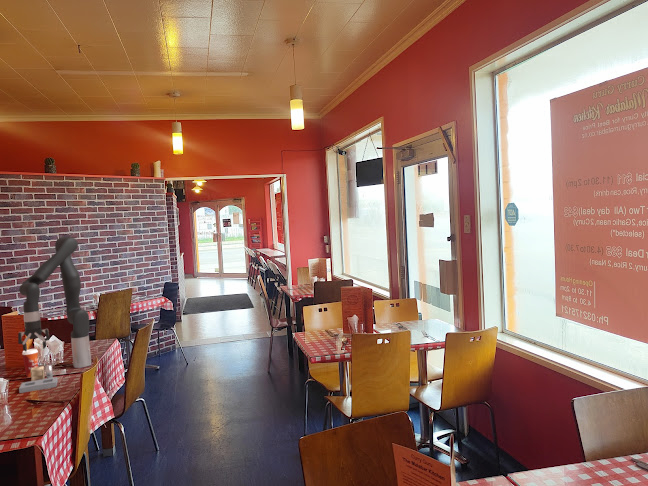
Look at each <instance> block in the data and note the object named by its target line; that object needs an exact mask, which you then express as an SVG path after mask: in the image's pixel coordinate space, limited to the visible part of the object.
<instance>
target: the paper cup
mask: <svg viewBox="0 0 648 486" xmlns="http://www.w3.org/2000/svg"><path fill="white" fill-rule="evenodd" d="M38 352H39V351H38V348H30V349H27V351H25V350H23V351H22V353H21V355H22V357H23V364H24V371H25V376H26V377H27V378H31V369H32V368H35V367H39V361H38V358H39V356H38Z"/></svg>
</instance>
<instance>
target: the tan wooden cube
mask: <svg viewBox="0 0 648 486" xmlns="http://www.w3.org/2000/svg"><path fill="white" fill-rule="evenodd" d="M45 375H46V373H45V366H44V365H41V366H38V367H35V368H32V369H31V377H30V379H31V380H30V381H36V380H42V379H46V378H45V377H46V376H45Z"/></svg>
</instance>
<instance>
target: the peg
mask: <svg viewBox="0 0 648 486" xmlns="http://www.w3.org/2000/svg"><path fill="white" fill-rule="evenodd" d="M44 368H45V375H46V376H45V377H46V378H45V379H48V378H53V377H54V373H53V365H52V364H47V365H45V366H44Z"/></svg>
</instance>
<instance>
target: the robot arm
mask: <svg viewBox="0 0 648 486" xmlns="http://www.w3.org/2000/svg"><path fill="white" fill-rule="evenodd" d="M78 243H79V242H78V240H77V239H76V238H75V237H72V236H71V237H69V236H64V237H59V238H58V239H56V241H55V243H54V247H55V248H54V249H55V253H54V254H53V255H52V256H50V257H49V258H48V259H47V260H46V261H44V262H43V263H41V265H40V266H39V267H38V268H37V269H36V271H34V273H33V274H32V275H31V276H29V277H28V278H26V280H24V281H23V282H22V283H21V284H20V286H19V294H20V295H22V296H24V297H25V299H26V300H25V301H24V302H23V307H22V308H23V309H22V310H23V322H24V323H23V325H24V331H19V332H18V333H17V338H18V341H17V342H18V345H22V349H23V351H27V350H28V349H27V347H28V346H27V342H28V340H33V339H35V340H36V339H40V340H41V342H42V349H44V350H45V349H46V347H47V341H49V340H50V331H49V329H48V328H45V329H43V328H42V322H41V313H40V306H39V300H40V295H41V288H40V286H39V285H41V284H44V283H45V282H47V280H48V279H49V277H50V276H52V274H53V273H54V272H55V271H56V269H57V268H58V267H59V268H60V274H61V282H62V288H63V291H64V294H63V295H64V298H65V307H66V319H67V321H68V323H69V324H71V325H72V329H73V330H72V331H71V333H70V338H71V340H70V341H71V343H70V344H71V351H72V352H71V353H72V362H73V363H72V365H73V368H76V369H78V368H85V367H88V366H89V367H90V366H92V356H91V354H92V353H91V347H90V336H89V333H90V329H91V328H90V316H89V313H88V311H86V310H85V309H82V308H81V304H80V294H81V289H82V282H81V277H80V273H79V271H78V269H77V267H76V266H75V264H74V262H73V259H72V254H73V253H74V252H75V251H76V250H77V249H78V246H79V244H78ZM42 333H44V334H45V337H44V336H43V335H42ZM23 336H25V338H24V340H22V339H23Z"/></svg>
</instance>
